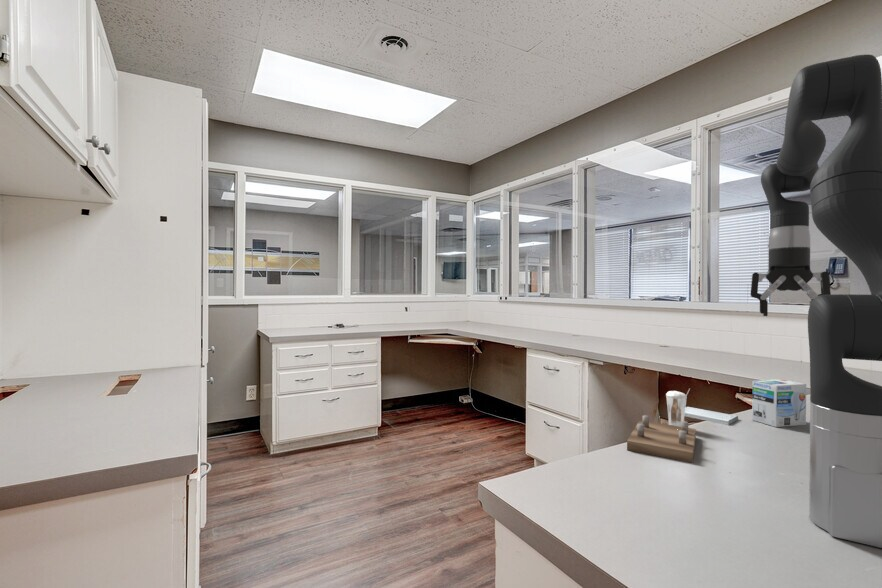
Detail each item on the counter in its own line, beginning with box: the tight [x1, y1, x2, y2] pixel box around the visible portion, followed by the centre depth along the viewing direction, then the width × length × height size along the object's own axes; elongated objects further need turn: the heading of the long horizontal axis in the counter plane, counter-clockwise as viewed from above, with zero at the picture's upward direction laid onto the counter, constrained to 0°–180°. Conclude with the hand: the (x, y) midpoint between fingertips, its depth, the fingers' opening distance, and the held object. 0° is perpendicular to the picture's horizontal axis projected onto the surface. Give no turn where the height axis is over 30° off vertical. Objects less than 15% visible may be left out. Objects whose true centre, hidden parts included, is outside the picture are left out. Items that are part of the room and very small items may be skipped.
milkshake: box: [665, 388, 691, 427], centre depth 106 cm, size 4×5×10 cm
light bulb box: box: [751, 378, 807, 428], centre depth 111 cm, size 11×7×11 cm, turn 105°
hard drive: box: [684, 406, 739, 426], centre depth 116 cm, size 2×8×12 cm
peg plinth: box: [626, 414, 697, 464], centre depth 94 cm, size 18×12×4 cm, turn 147°
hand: (788, 316), depth 98 cm, fingers open, 8 cm apart
